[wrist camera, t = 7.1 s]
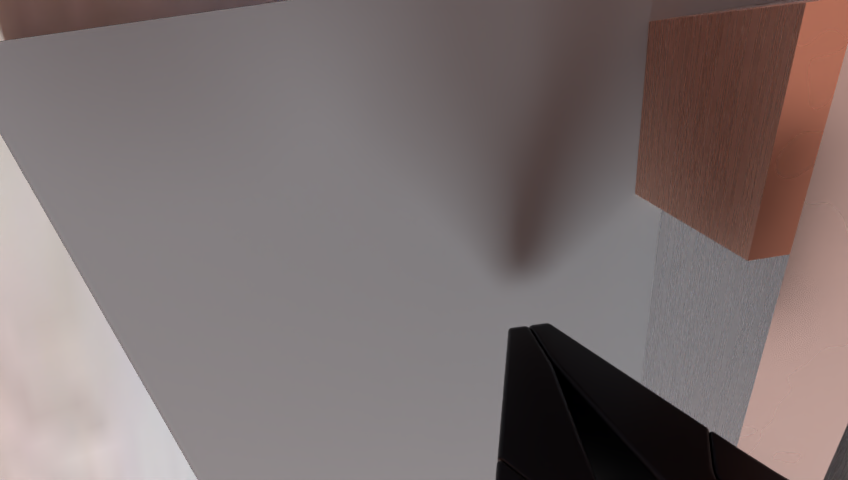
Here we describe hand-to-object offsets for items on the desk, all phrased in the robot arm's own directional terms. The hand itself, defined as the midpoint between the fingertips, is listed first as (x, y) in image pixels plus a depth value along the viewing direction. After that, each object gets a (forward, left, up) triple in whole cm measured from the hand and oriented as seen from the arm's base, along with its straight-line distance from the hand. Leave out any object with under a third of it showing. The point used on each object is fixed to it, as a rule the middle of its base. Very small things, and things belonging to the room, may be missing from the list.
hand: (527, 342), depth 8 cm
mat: (-4, -1, -2) cm, 5 cm away
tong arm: (-5, -6, -1) cm, 7 cm away
